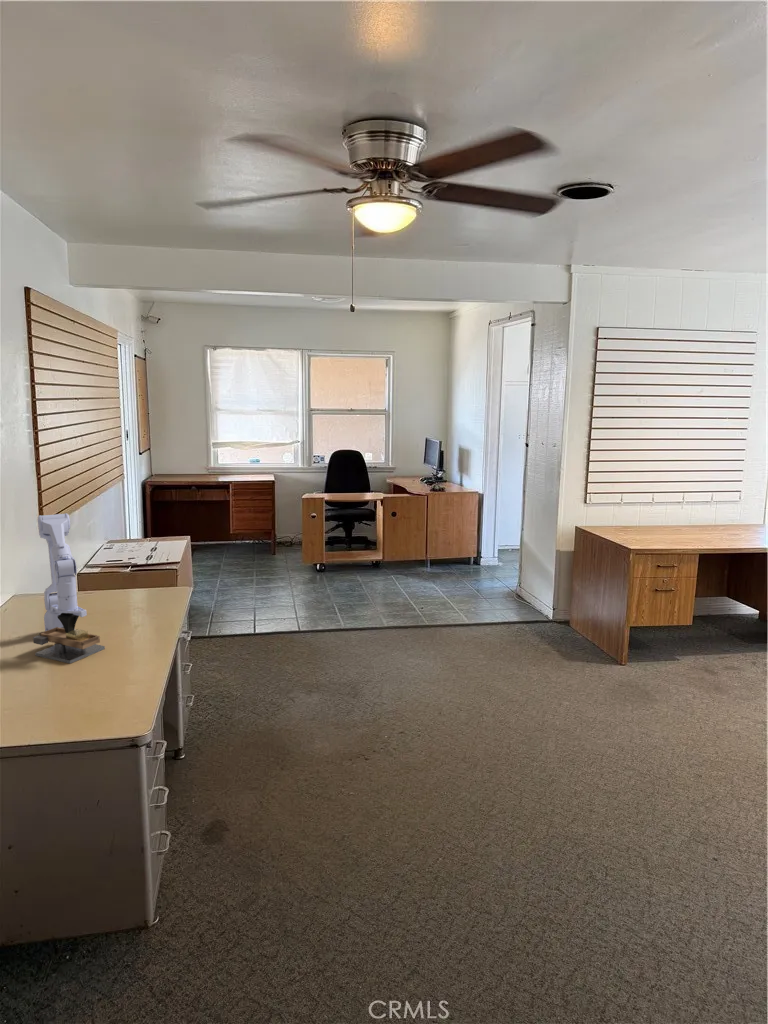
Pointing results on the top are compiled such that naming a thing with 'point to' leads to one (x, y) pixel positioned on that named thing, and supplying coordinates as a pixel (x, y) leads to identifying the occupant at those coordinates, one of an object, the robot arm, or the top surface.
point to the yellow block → (77, 635)
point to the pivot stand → (68, 652)
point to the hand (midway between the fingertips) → (70, 634)
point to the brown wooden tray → (64, 638)
